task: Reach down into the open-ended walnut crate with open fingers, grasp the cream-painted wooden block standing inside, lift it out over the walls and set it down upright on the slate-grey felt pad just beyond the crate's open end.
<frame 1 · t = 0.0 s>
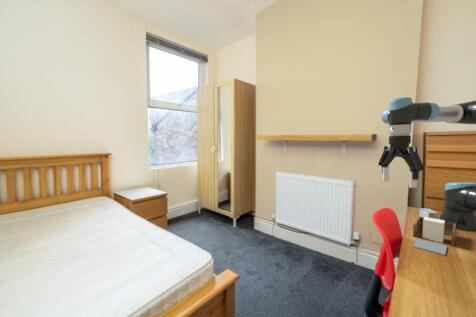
hand: (398, 184, 92), 28 cm above the table, fingers open, 13 cm apart
medicine box: (428, 226, 113), on the table
felt pad: (430, 246, 92), on the table
crate: (433, 238, 100), on the table
cream block: (433, 229, 99), in the crate
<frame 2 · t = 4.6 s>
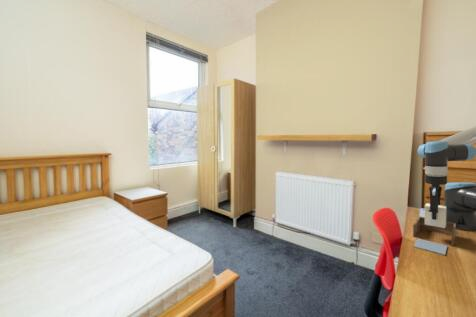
hand: (435, 223, 99), 7 cm above the table, fingers closed on cream block, 5 cm apart
cream block: (435, 215, 99), point 11 cm above the table, touching gripper
everything else where it was.
when the fingers open (2 cm above the table, at t = 8.5 s): cream block drops 1 cm, resting on felt pad.
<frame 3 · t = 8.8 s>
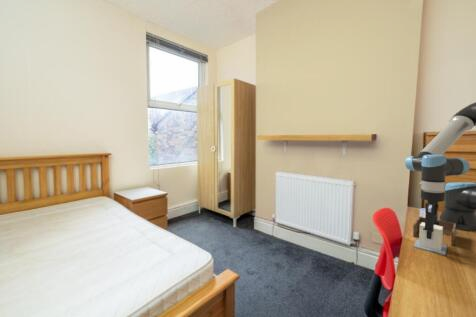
hand: (430, 241, 92), 2 cm above the table, fingers open, 8 cm apart
cream block: (430, 235, 92), on the felt pad
everything else where it was.
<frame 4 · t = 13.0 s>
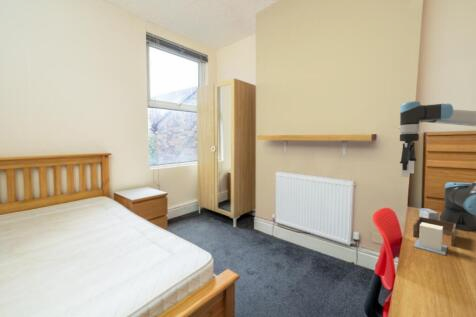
hand: (407, 174, 108), 29 cm above the table, fingers open, 13 cm apart
nothing on the table moved.
at the end: cream block 0.1 cm from the felt pad (horizontally); cream block tilted 0°; cream block resting on felt pad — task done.
